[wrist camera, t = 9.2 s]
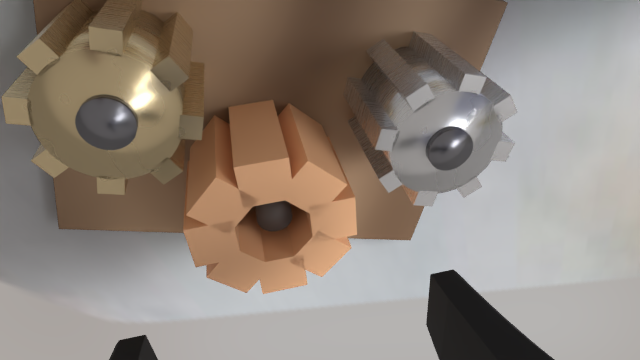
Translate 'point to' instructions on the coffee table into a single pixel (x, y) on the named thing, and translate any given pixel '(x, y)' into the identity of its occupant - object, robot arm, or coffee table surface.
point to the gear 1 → (110, 94)
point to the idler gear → (266, 198)
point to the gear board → (282, 94)
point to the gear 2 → (428, 118)
